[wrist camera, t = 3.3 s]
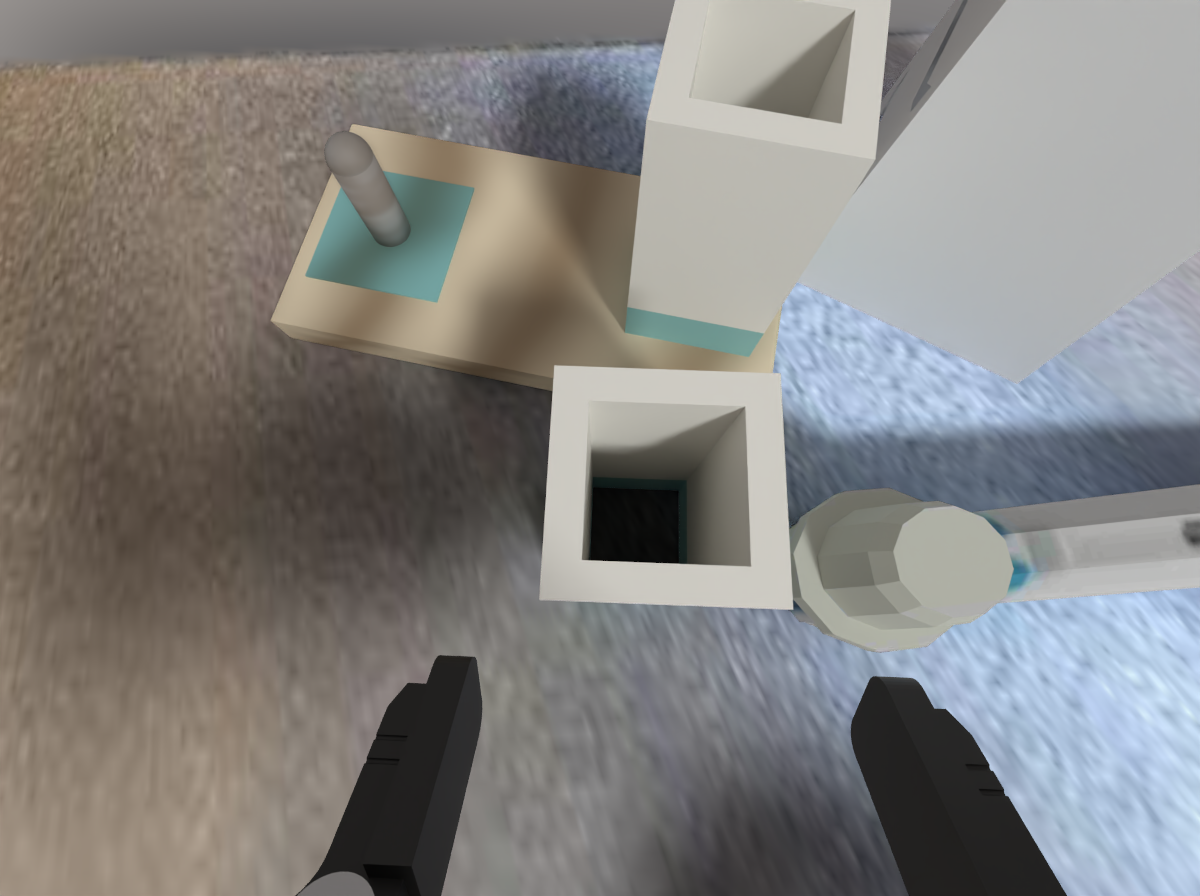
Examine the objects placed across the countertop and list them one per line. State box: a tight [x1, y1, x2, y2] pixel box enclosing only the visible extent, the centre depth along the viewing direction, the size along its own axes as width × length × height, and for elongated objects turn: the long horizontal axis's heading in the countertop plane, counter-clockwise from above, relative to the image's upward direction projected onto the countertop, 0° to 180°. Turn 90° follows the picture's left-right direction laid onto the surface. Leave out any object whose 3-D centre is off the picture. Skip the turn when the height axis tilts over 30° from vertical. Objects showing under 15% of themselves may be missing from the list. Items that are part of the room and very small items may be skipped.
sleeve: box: [539, 365, 793, 610], centre depth 16 cm, size 5×5×10 cm
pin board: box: [271, 124, 782, 391], centre depth 21 cm, size 20×10×6 cm, turn 78°
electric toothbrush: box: [789, 484, 1200, 653], centre depth 19 cm, size 5×7×25 cm
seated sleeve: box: [625, 0, 891, 357], centre depth 17 cm, size 5×5×10 cm
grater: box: [797, 0, 1200, 384], centre depth 15 cm, size 10×10×20 cm
